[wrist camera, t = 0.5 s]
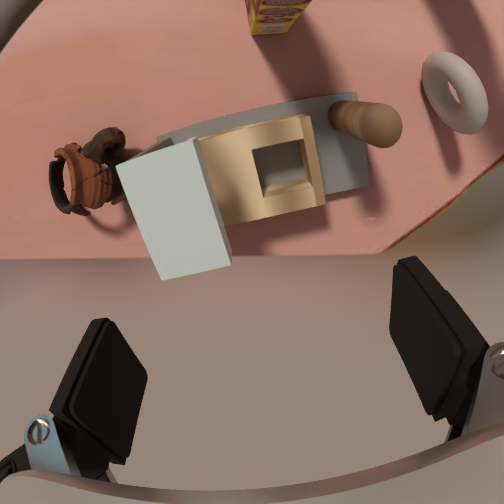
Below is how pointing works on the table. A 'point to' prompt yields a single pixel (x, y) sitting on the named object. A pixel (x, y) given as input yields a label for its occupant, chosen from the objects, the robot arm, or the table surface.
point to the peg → (366, 122)
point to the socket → (246, 176)
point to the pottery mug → (89, 173)
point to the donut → (466, 85)
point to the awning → (176, 208)
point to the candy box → (273, 15)
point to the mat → (296, 144)
